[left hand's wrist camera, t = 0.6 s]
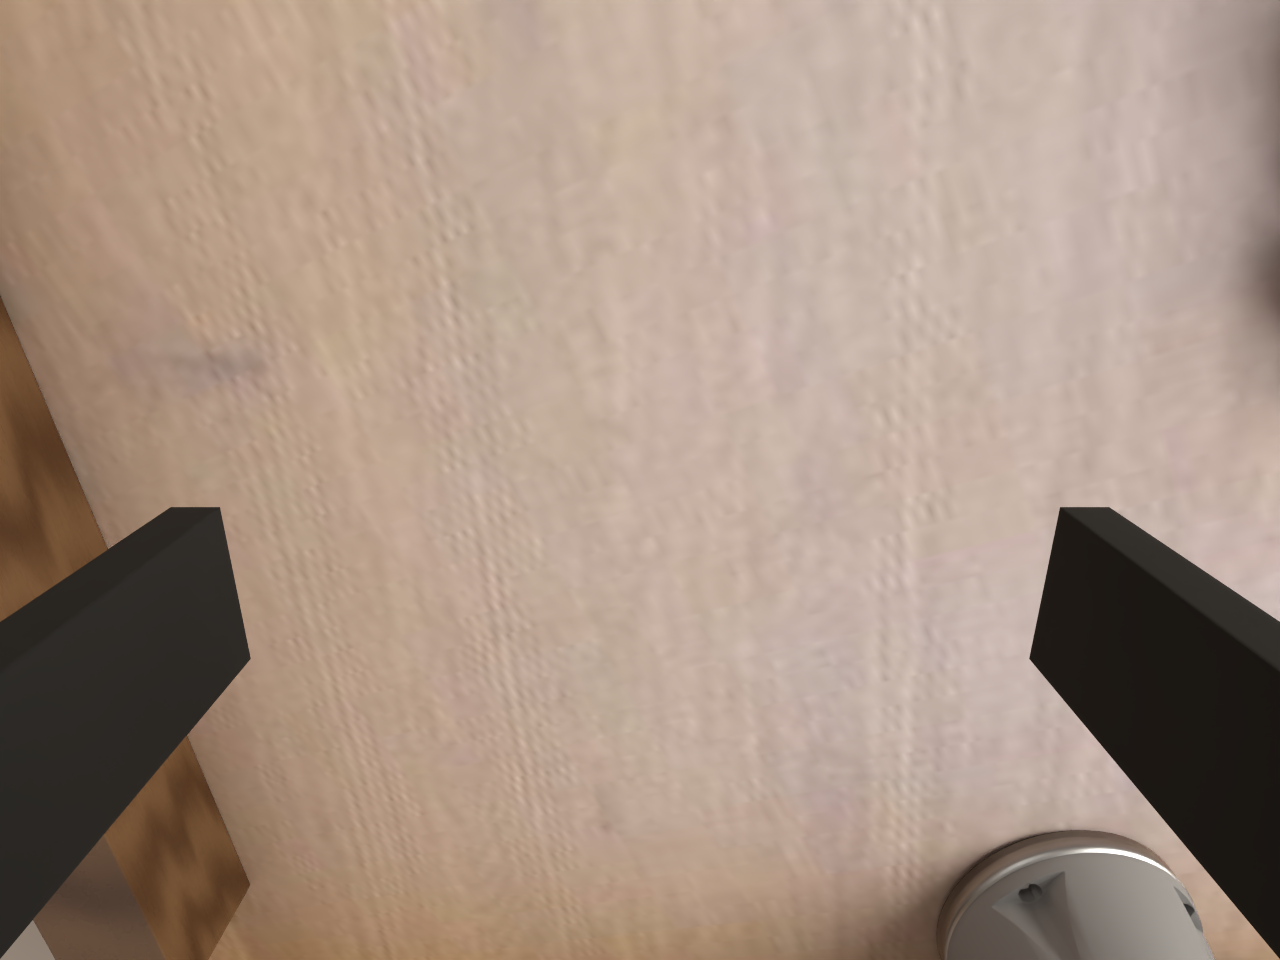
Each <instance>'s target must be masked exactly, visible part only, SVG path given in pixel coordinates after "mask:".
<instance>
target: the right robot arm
mask: <svg viewBox="0 0 1280 960" xmlns="http://www.w3.org/2000/svg"><path fill="white" fill-rule="evenodd" d="M937 945H938V950H939V954H940V956H941V959H942V960H1215V959H1214V956H1213V954H1212V951H1211V949H1210V947H1209V945H1208V942H1207V940H1206V938H1205V937H1204V935H1203V929H1202V924H1201V921H1200V918H1199V915H1198V912H1197V910H1196V908H1195V906H1194V903H1193V900H1192V899H1191V897H1190V895H1189V893H1188V891H1187V890H1186V889H1185V887H1184V886H1183V885H1182V883H1181V882H1180V881H1179V880H1178V878H1177V877H1176V876H1175V874H1174V873H1173V872H1172V871H1171V869H1170V868H1169V867H1168V866H1167V864H1166V863H1165V862H1164V861H1163V860H1162V859H1161V858H1160V857H1159V856H1158V855H1157V854H1155V853H1154V852H1153V851H1152V850H1150V849H1149V848H1147V847H1146V846H1144V845H1142V844H1140V843H1138V842H1136V841H1134V840H1131V839H1129V838H1126V837H1123V836H1119V835H1116V834H1112V833H1106V832H1100V831H1087V830H1075V831H1062V832H1054V833H1049V834H1044V835H1039V836H1036V837H1032V838H1029V839H1026V840H1023V841H1020V842H1018V843H1015V844H1013V845H1010V846H1008V847H1006V848H1004V849H1002V850H1000V851H998V852H996V853H995V854H993V855H991V856H990V857H988V858H987V859H985V860H984V861H982V862H981V863H979V864H978V865H977V866H976V867H974V868H973V869H972V870H971V871H970V872H969V873H968V874H966V875H965V876H964V877H963V879H962V880H961V881H960V882H959V883H958V884H957V885H956V887H955V888H954V889H953V891H952V892H951V894H950V895H949V897H948V898H947V900H946V902H945V904H944V906H943V908H942V911H941V914H940V917H939V921H938V926H937Z"/></svg>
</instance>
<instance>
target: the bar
mask: <svg viewBox="0 0 1280 960" xmlns="http://www.w3.org/2000/svg"><path fill="white" fill-rule="evenodd" d="M107 550H108V549H107V547H106V544H105V542H104V540H103V537H102V535H101V532H100V530H99V528H98V525H97V523H96V521H95V518H94V516H93V514H92V511H91V509H90V507H89V504H88V502H87V499H86V497H85V495H84V492H83V490H82V488H81V485H80V483H79V481H78V478H77V476H76V474H75V471H74V469H73V466H72V464H71V462H70V459H69V457H68V455H67V452H66V450H65V448H64V445H63V443H62V441H61V438H60V436H59V434H58V431H57V429H56V426H55V424H54V422H53V419H52V417H51V415H50V412H49V410H48V408H47V405H46V403H45V401H44V398H43V396H42V393H41V391H40V389H39V386H38V384H37V382H36V379H35V377H34V375H33V372H32V370H31V368H30V365H29V363H28V360H27V358H26V356H25V353H24V351H23V349H22V346H21V344H20V342H19V339H18V337H17V335H16V332H15V330H14V328H13V325H12V323H11V320H10V318H9V316H8V313H7V311H6V309H5V306H4V304H3V302H2V299H1V297H0V622H1V621H2V620H4V619H5V618H7V617H8V616H10V615H11V614H13V613H14V612H16V611H17V610H19V609H20V608H22V607H23V606H25V605H26V604H28V603H29V602H31V601H32V600H34V599H35V598H37V597H38V596H40V595H41V594H43V593H44V592H45V591H47V590H48V589H50V588H51V587H53V586H54V585H56V584H57V583H59V582H60V581H62V580H63V579H65V578H66V577H68V576H69V575H71V574H72V573H74V572H75V571H77V570H78V569H80V568H81V567H83V566H84V565H86V564H87V563H89V562H90V561H92V560H93V559H95V558H96V557H98V556H99V555H101V554H102V553H104V552H105V551H107ZM249 886H250V883H249V881H248V879H247V876H246V874H245V872H244V869H243V867H242V865H241V862H240V860H239V858H238V855H237V853H236V850H235V848H234V846H233V843H232V841H231V839H230V836H229V834H228V832H227V829H226V827H225V825H224V822H223V820H222V817H221V815H220V813H219V810H218V808H217V806H216V803H215V801H214V799H213V796H212V794H211V792H210V789H209V787H208V785H207V782H206V780H205V777H204V775H203V773H202V770H201V768H200V766H199V763H198V761H197V759H196V756H195V754H194V752H193V749H192V747H191V744H190V742H189V740H188V737H187V736H186V737H185V738H184V739H183V740H182V742H181V743H180V744H179V745H178V746H177V748H176V749H175V750H174V751H173V752H172V754H171V755H170V756H169V757H168V758H167V759H166V761H165V762H164V763H163V764H162V765H161V767H160V768H159V769H158V770H157V771H156V773H155V774H154V775H153V776H152V777H151V779H150V780H149V781H148V782H147V783H146V785H145V786H144V787H143V788H142V789H141V791H140V792H139V793H138V794H137V795H136V797H135V798H134V799H133V800H132V801H131V803H130V804H129V805H128V806H127V807H126V809H125V810H124V811H123V812H122V813H121V815H120V816H119V817H118V818H117V819H116V821H115V822H114V823H113V824H112V825H111V827H110V828H109V829H108V830H107V831H106V833H105V834H104V835H103V836H102V837H101V839H100V840H99V841H98V842H97V843H96V845H95V846H94V847H93V848H92V849H91V851H90V852H89V853H88V854H87V855H86V857H85V858H84V859H83V860H82V861H81V863H80V864H79V865H78V866H77V867H76V869H75V870H74V871H73V872H72V873H71V875H70V876H69V877H68V878H67V879H66V881H65V882H64V883H63V884H62V885H61V887H60V888H59V889H58V890H57V891H56V892H55V894H54V895H53V896H52V897H51V898H50V900H49V901H48V902H47V903H46V904H45V906H44V907H43V908H42V909H41V910H40V912H39V913H38V914H37V915H36V916H35V918H34V919H33V921H34V922H35V924H36V926H37V928H38V929H39V931H40V933H41V935H42V937H43V938H44V940H45V942H46V944H47V945H48V947H49V949H50V951H51V953H52V954H53V956H54V958H55V960H208V959H209V957H210V956H211V954H212V952H213V950H214V948H215V947H216V945H217V943H218V941H219V940H220V938H221V936H222V934H223V932H224V931H225V929H226V927H227V925H228V924H229V922H230V920H231V918H232V917H233V915H234V913H235V911H236V909H237V908H238V906H239V904H240V902H241V901H242V899H243V897H244V895H245V893H246V892H247V890H248V888H249Z"/></svg>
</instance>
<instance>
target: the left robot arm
mask: <svg viewBox="0 0 1280 960" xmlns="http://www.w3.org/2000/svg"><path fill="white" fill-rule="evenodd" d="M250 659H251V658H250V653H249V648H248V644H247V639H246V634H245V629H244V624H243V619H242V614H241V609H240V604H239V599H238V594H237V589H236V585H235V580H234V575H233V570H232V565H231V560H230V555H229V550H228V545H227V540H226V535H225V530H224V526H223V521H222V516H221V511H220V507H171V508H169V509H168V510H166V511H165V512H163V513H162V514H160V515H159V516H157V517H156V518H154V519H153V520H151V521H150V522H148V523H147V524H145V525H144V526H142V527H141V528H139V529H138V530H136V531H135V532H133V533H132V534H130V535H129V536H127V537H126V538H124V539H123V540H121V541H120V542H118V543H117V544H115V545H114V546H112V547H111V548H110V549H108V550H107V551H105V552H104V553H102V554H101V555H99V556H98V557H96V558H95V559H93V560H92V561H90V562H89V563H87V564H86V565H84V566H83V567H81V568H80V569H78V570H77V571H75V572H74V573H72V574H71V575H69V576H68V577H66V578H65V579H63V580H62V581H60V582H59V583H57V584H56V585H54V586H53V587H51V588H50V589H48V590H47V591H45V592H44V593H43V594H41V595H40V596H38V597H37V598H35V599H34V600H32V601H31V602H29V603H28V604H26V605H25V606H23V607H22V608H20V609H19V610H17V611H16V612H14V613H13V614H11V615H10V616H8V617H7V618H5V619H4V620H2V621H1V622H0V958H1V957H2V956H3V955H4V954H5V952H6V951H7V950H8V949H9V948H10V946H11V945H12V944H13V943H14V942H15V940H16V939H17V938H18V937H19V936H20V934H21V933H22V932H23V931H24V930H25V928H26V927H27V926H28V925H29V924H30V922H31V921H32V920H33V919H34V918H35V916H36V915H37V914H38V913H39V912H40V910H41V909H42V908H43V907H44V906H45V904H46V903H47V902H48V901H49V900H50V898H51V897H52V896H53V895H54V894H55V892H56V891H57V890H58V889H59V888H60V887H61V885H62V884H63V883H64V882H65V881H66V879H67V878H68V877H69V876H70V875H71V873H72V872H73V871H74V870H75V869H76V867H77V866H78V865H79V864H80V863H81V861H82V860H83V859H84V858H85V857H86V855H87V854H88V853H89V852H90V851H91V849H92V848H93V847H94V846H95V845H96V843H97V842H98V841H99V840H100V839H101V837H102V836H103V835H104V834H105V833H106V831H107V830H108V829H109V828H110V827H111V825H112V824H113V823H114V822H115V821H116V819H117V818H118V817H119V816H120V815H121V813H122V812H123V811H124V810H125V809H126V807H127V806H128V805H129V804H130V803H131V801H132V800H133V799H134V798H135V797H136V795H137V794H138V793H139V792H140V791H141V789H142V788H143V787H144V786H145V785H146V783H147V782H148V781H149V780H150V779H151V777H152V776H153V775H154V774H155V773H156V771H157V770H158V769H159V768H160V767H161V765H162V764H163V763H164V762H165V761H166V759H167V758H168V757H169V756H170V755H171V754H172V752H173V751H174V750H175V749H176V748H177V746H178V745H179V744H180V743H181V742H182V740H183V739H184V738H185V737H186V736H187V734H188V733H189V732H190V731H191V730H192V728H193V727H194V726H195V725H196V724H197V722H198V721H199V720H200V719H201V718H202V716H203V715H204V714H205V713H206V712H207V710H208V709H209V708H210V707H211V706H212V704H213V703H214V702H215V701H216V700H217V698H218V697H219V696H220V695H221V694H222V692H223V691H224V690H225V689H226V688H227V686H228V685H229V684H230V683H231V682H232V680H233V679H234V678H235V677H236V676H237V674H238V673H239V672H240V671H241V670H242V668H243V667H244V666H245V665H246V664H247V662H248V661H249V660H250ZM1029 659H1030V660H1031V661H1032V662H1033V664H1034V665H1035V666H1036V667H1037V668H1038V670H1039V671H1040V672H1041V673H1042V674H1043V676H1044V677H1045V678H1046V679H1047V680H1048V682H1049V683H1050V684H1051V685H1052V686H1053V688H1054V689H1055V690H1056V691H1057V692H1058V694H1059V695H1060V696H1061V697H1062V698H1063V700H1064V701H1065V702H1066V703H1067V704H1068V706H1069V707H1070V708H1071V709H1072V710H1073V712H1074V713H1075V714H1076V715H1077V716H1078V718H1079V719H1080V720H1081V721H1082V722H1083V724H1084V725H1085V726H1086V727H1087V728H1088V730H1089V731H1090V732H1091V733H1092V734H1093V736H1094V737H1095V738H1096V739H1097V740H1098V742H1099V743H1100V744H1101V745H1102V746H1103V748H1104V749H1105V750H1106V751H1107V752H1108V754H1109V755H1110V756H1111V757H1112V758H1113V759H1114V761H1115V762H1116V763H1117V764H1118V765H1119V767H1120V768H1121V769H1122V770H1123V771H1124V773H1125V774H1126V775H1127V776H1128V777H1129V779H1130V780H1131V781H1132V782H1133V783H1134V785H1135V786H1136V787H1137V788H1138V789H1139V791H1140V792H1141V793H1142V794H1143V795H1144V797H1145V798H1146V799H1147V800H1148V801H1149V803H1150V804H1151V805H1152V806H1153V807H1154V809H1155V810H1156V811H1157V812H1158V813H1159V815H1160V816H1161V817H1162V818H1163V819H1164V821H1165V822H1166V823H1167V824H1168V825H1169V827H1170V828H1171V829H1172V830H1173V831H1174V833H1175V834H1176V835H1177V836H1178V837H1179V839H1180V840H1181V841H1182V842H1183V843H1184V845H1185V846H1186V847H1187V848H1188V849H1189V851H1190V852H1191V853H1192V854H1193V855H1194V857H1195V858H1196V859H1197V860H1198V861H1199V863H1200V864H1201V865H1202V866H1203V867H1204V869H1205V870H1206V871H1207V872H1208V873H1209V875H1210V876H1211V877H1212V878H1213V879H1214V881H1215V882H1216V883H1217V884H1218V885H1219V887H1220V888H1221V889H1222V890H1223V891H1224V892H1225V894H1226V895H1227V896H1228V897H1229V898H1230V900H1231V901H1232V902H1233V903H1234V904H1235V906H1236V907H1237V908H1238V909H1239V910H1240V912H1241V913H1242V914H1243V915H1244V916H1245V918H1246V919H1247V920H1248V921H1249V922H1250V924H1251V925H1252V926H1253V927H1254V928H1255V930H1256V931H1257V932H1258V933H1259V934H1260V936H1261V937H1262V938H1263V939H1264V940H1265V942H1266V943H1267V944H1268V945H1269V946H1270V948H1271V949H1272V950H1273V951H1274V952H1275V954H1276V955H1277V956H1278V957H1279V958H1280V622H1279V621H1278V620H1276V619H1275V618H1273V617H1272V616H1270V615H1269V614H1267V613H1266V612H1264V611H1263V610H1261V609H1260V608H1258V607H1257V606H1255V605H1254V604H1252V603H1251V602H1249V601H1248V600H1246V599H1245V598H1243V597H1242V596H1240V595H1239V594H1237V593H1236V592H1235V591H1233V590H1232V589H1230V588H1229V587H1227V586H1226V585H1224V584H1223V583H1221V582H1220V581H1218V580H1217V579H1215V578H1214V577H1212V576H1211V575H1209V574H1208V573H1206V572H1205V571H1203V570H1202V569H1200V568H1199V567H1197V566H1196V565H1194V564H1193V563H1191V562H1190V561H1188V560H1187V559H1185V558H1184V557H1182V556H1181V555H1179V554H1178V553H1176V552H1175V551H1173V550H1172V549H1170V548H1169V547H1168V546H1166V545H1165V544H1163V543H1162V542H1160V541H1159V540H1157V539H1156V538H1154V537H1153V536H1151V535H1150V534H1148V533H1147V532H1145V531H1144V530H1142V529H1141V528H1139V527H1138V526H1136V525H1135V524H1133V523H1132V522H1130V521H1129V520H1127V519H1126V518H1124V517H1123V516H1121V515H1120V514H1118V513H1117V512H1115V511H1114V510H1112V509H1111V508H1109V507H1060V511H1059V516H1058V521H1057V526H1056V530H1055V535H1054V540H1053V545H1052V550H1051V555H1050V560H1049V565H1048V570H1047V575H1046V580H1045V585H1044V589H1043V594H1042V599H1041V604H1040V609H1039V614H1038V619H1037V624H1036V629H1035V634H1034V639H1033V644H1032V648H1031V653H1030V658H1029Z"/></svg>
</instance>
